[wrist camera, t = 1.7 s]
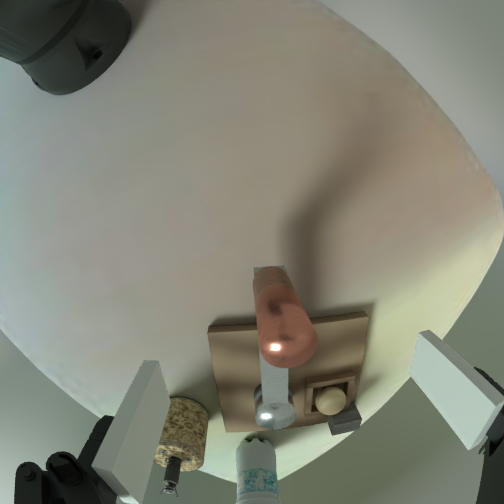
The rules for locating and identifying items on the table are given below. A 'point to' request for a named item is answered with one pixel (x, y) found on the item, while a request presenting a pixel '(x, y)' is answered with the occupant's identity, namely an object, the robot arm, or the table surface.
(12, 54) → the robot arm
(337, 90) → the table surface
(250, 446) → the bottle
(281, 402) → the lever
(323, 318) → the square wooden tray
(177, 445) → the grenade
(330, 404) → the nut
